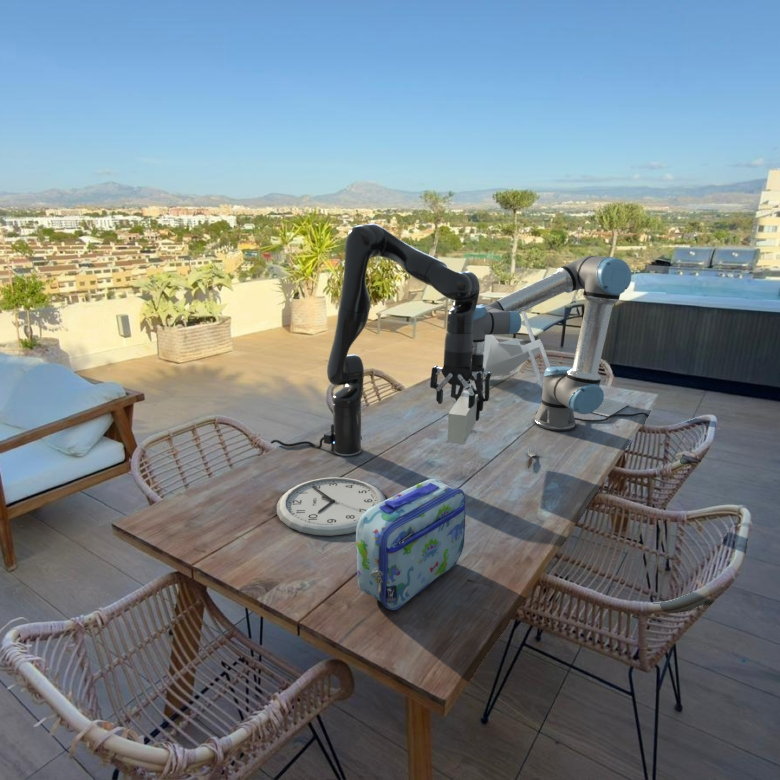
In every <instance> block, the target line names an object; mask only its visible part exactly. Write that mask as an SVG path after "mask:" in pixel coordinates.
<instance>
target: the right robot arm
mask: <svg viewBox="0 0 780 780" xmlns="http://www.w3.org/2000/svg"><path fill="white" fill-rule="evenodd" d="M631 282H632V271H631V267H630V266H629V265H628V263H627V262H626V261H624V260H623V259H622V258H618V257H614V256H601V255H587V256H583V257H580V258H578V259H577V260H573V261H571V262H569V263H567V264H565V265H563V266H560V267H559V268H557V270H556V272H554V273H552V274H551V275H548V276H546V277H544V278H541V279H539V280H538V281H536V282H533V283H531V284H529V285H526V286H525V287H523V288H520V289H518V290H517V291H514V292H512V293H510V294H508V295H506V296H504V297H501V298H499V299H497V300H495V301H493V302H490V303H487V304H486V303H483V304H482V303H481V304H477V306H476V309H475V312H474V317H473V351H472V366H471V368H472V371H474V372H479V371H482V372H483V374H484V379H485V380H484V393H483V391H482V392H481V394H478V398H479V400H478V402H477V410H476V422H478V421H479V419H480V416H481V415H480V414H481V413H480V412H483V409H484V403H485V402H488V401H489V400H490V389H491V387H490V386H491V378H492V377H491V374H492V372H488V371H485V370H484V368H483V359H484V354H483V352H484V344H485V335H493V336H495V335H513V334H518V333H519V332H520V330H521V328H522V321H523V320H522V317H521V314H522V313H521V312H523V311H525V312H526V311H527V310H529V309H531V308H534V307H535V306H538V305H540V304H542V303H544V302H546V301H548V300H551V299H552V298H555V297H557V296H559V295H562V294H563V293H567V294H571V293H572V292H575V291H578V290H583V293H582V296H583V298H584V300H585V301H586V302H585V307H584V312H583V317H582V321H581V326H580V331H579V335H578V339H577V344H576V349H575V353H574V357H573V363H572V366H558V365H557V366H550V367H549V368H546V369H545V370H544V373H543V390H542V394H541V402H540V405H539V407H538V410H537V411H536V412H535V417H534V424H535V425H536V426H537V427H539V428H542V429H544V430H549V431H556V432H567V431H572V430H574V429H575V428H576V421H579V422H580V421H581V422H591V423H595V422H596V423H598V422H606V421H607V420H609V419H610V418H611V417H634V416H640V415H644V416H646V417H650V416H649V414H648V413H646V412H636V413H614V414H613V415H610V416H606V418H602V419H585V418H584V419H583V418H579V417H576V416H575V413H577V414H580V415H589V414H591V413H592V412H594V410H596V409H598V408H599V406H600V405H601V404H602V402H603V399H605V394H604V390H603V389H602V387H601V386H600V385H601V379H602V376H601V375H600V374H599V369H600V364H601V359H602V355H603V350H604V346H605V342H606V338H607V333H608V328H609V324H610V321H611V315H612V311H613V307H614V305H615V304H616V303H617V302H619V301H620V297H621V294H623V293H625V292H626V290H628V288H629V287H630V285H631ZM470 381H471V382H474V384H475V389H477V380H475V379H474V376H471V377H470ZM464 389H465V387H464V386H463V385H461V386H459V388H458V390H457V385H451V387H450V397H451V399H452V398H453V399H455V403H456V402H457V400H458V399H459V397H460V396H461V394H462V393H463V391H464Z"/></svg>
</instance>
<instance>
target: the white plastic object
mask: <svg viewBox="0 0 780 780" xmlns="http://www.w3.org/2000/svg"><path fill="white" fill-rule="evenodd" d="M520 314H521V315H522V319H523V321H524V324H525V325H524V326H525V328H526V331H527V334H528V336H529V339H530V342H528V343H526V344H522V343H521V342H520V341H519V338H518V337H517V338H512V339H508V340H503V341H499V340H498V339H497V338H496V337H495V335H485V344H484V352H483V354H484V359H483V368H484V370H485V371H488V372H492V374H491V377H490V378H492V377H501V378H503V377H506V376H509V375H511V372H512V371H514V370H515V369H517V368H518V367H519V366H521V365H523V364H524V363H525V362H527V361H528V360H529V359H530V361H531V362H530V363H531V364H532V365H531V366H532V369H533V371H534V374H535V377H536V380H537V383H538V386H539V387H540V389H541V390H542V391H543V382H544V380H543V378H542V375H541V372H540V369H539V366H538V363H537V359H536V357H535V355H536V356H537V355H538V354H541V356H542V359H543V361H544V362H543V363H544V364H545V367H546V369H547V368H549V367H551V363H550V361H549V358H548V355H547V353H546V350H545V346H544V344H543V341H542V340H541V338H538V339H535V336H534V333H533V330H532V327H531V324H530V321H529V317H528V315H527V312H526V310H525V311H523V312H521V313H520ZM483 379H485V377H484V374H483Z"/></svg>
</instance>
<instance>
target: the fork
mask: <svg viewBox="0 0 780 780" xmlns="http://www.w3.org/2000/svg"><path fill="white" fill-rule="evenodd" d="M533 448H535V449H533ZM533 448H531V447H529V448H528V451H527V456H529V459H528V460H527V469H530V467H531V465H532V463H533V460H532V459H533V457H535V456H537V445H536V447H535V445H534V446H533Z"/></svg>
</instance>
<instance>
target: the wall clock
mask: <svg viewBox="0 0 780 780" xmlns="http://www.w3.org/2000/svg"><path fill="white" fill-rule="evenodd" d="M385 500H387V498H386V496H385V494H384V493H383V492H382V491H381V490H380V489H379V488H377V487H376V486H374V485H372V484H371V483H369V482H365V481H362V480H359V479H355V478H349V477H338V476H337V477H335V476H333V477H332V476H331V477H322V478H317V479H312V480H307V481H305V482H302V483H299V484H297V485H295V486H293V487H292V488H290V489H288V490H287V491H286V492H285V493H284V494H283V495H281V496H280V498H279V499H278V502H277V503H276V515H277V517H278V518H279V520H280V521H281V522H282V523H283V524H285V525H286V526H287V527H288V528H290V529H293V530H295V531H297V532H299V533H303V534H308V535H312V536H327V537H328V536H329V537H331V536H332V537H333V536H342V535H350V534H352V533H356V529H357V525H358V522H359V520H360V518H361V516H362V515H363V513H364V512H365V511H366V510H368V509H369V508H371V507H373V506H375V505H377V504H379V503H381V502H383V501H385Z"/></svg>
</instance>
